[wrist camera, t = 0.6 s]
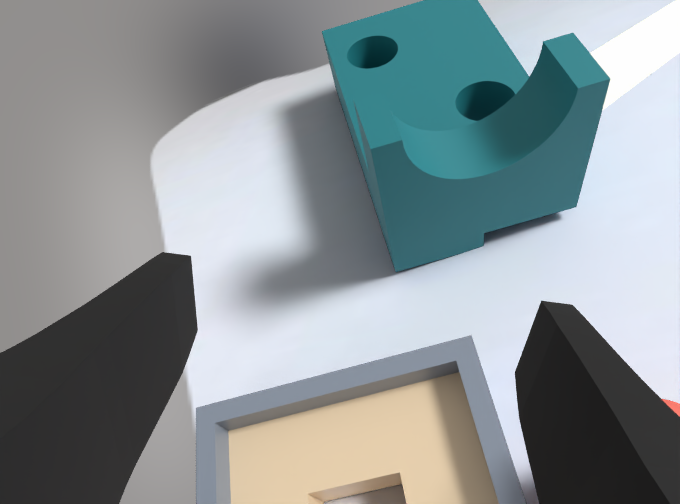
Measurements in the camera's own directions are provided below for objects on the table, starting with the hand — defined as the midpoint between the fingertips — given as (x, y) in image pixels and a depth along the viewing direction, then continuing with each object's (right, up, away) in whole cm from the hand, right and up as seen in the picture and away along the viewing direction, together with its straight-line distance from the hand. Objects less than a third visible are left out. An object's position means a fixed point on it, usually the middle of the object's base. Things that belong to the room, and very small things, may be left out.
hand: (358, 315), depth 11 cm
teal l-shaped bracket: (+6, +9, +26) cm, 28 cm away
